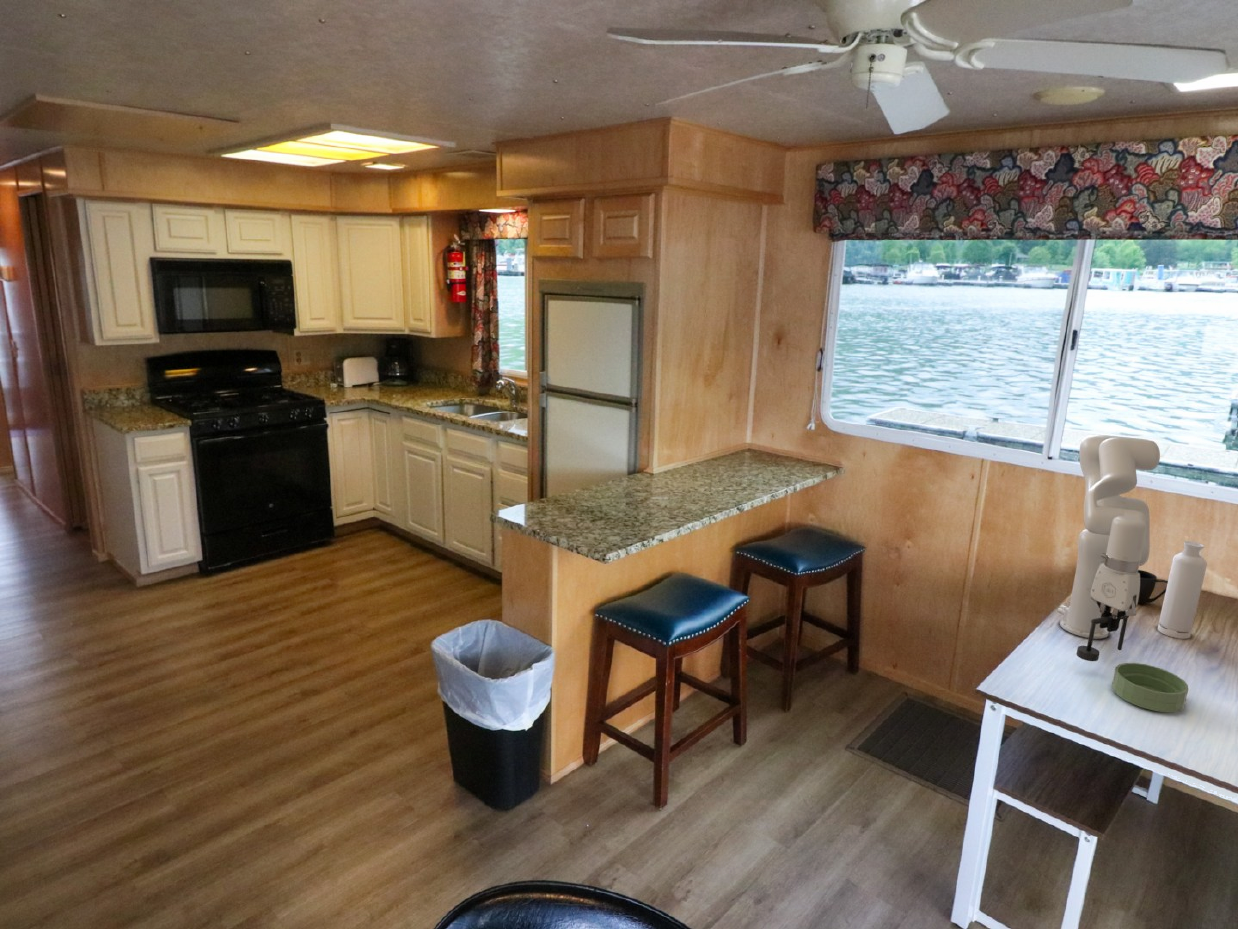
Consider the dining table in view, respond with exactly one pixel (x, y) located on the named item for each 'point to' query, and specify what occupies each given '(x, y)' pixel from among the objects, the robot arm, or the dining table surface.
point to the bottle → (1183, 591)
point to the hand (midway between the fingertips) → (1108, 628)
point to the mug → (1148, 587)
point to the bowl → (1150, 687)
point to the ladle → (1089, 651)
